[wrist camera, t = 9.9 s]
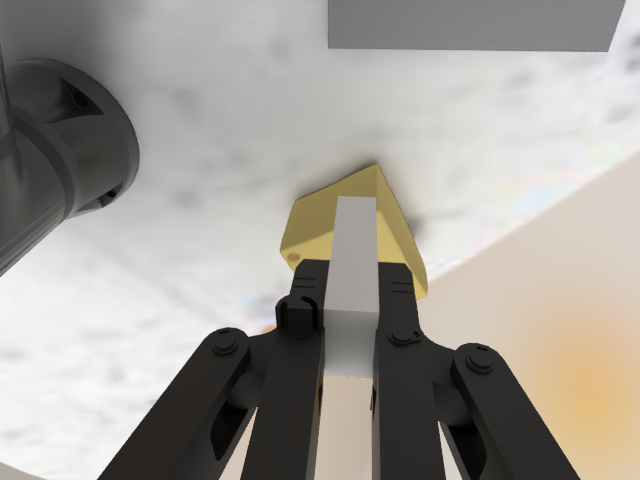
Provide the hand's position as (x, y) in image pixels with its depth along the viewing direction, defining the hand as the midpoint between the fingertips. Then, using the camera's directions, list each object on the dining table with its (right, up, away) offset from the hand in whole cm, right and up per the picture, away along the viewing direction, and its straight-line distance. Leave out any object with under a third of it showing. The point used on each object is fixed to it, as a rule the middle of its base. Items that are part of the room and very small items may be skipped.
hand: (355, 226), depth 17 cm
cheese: (+2, +2, +28) cm, 28 cm away
